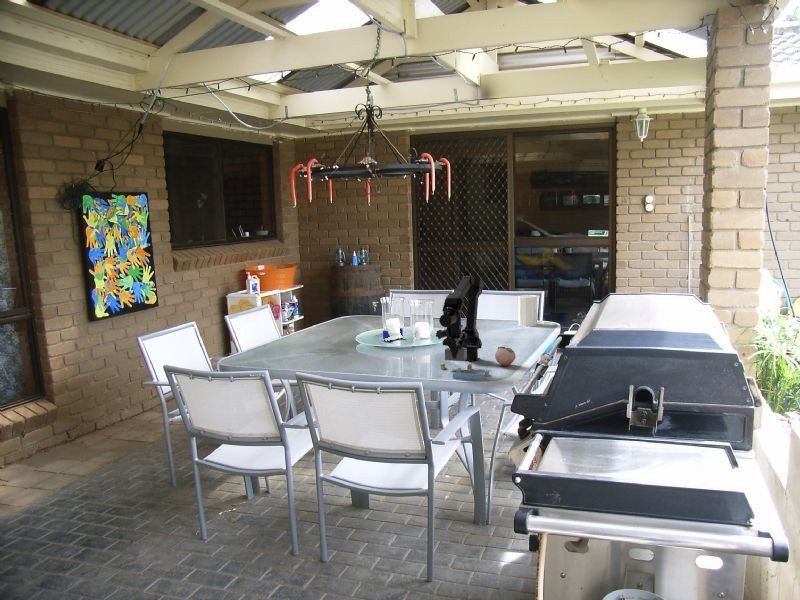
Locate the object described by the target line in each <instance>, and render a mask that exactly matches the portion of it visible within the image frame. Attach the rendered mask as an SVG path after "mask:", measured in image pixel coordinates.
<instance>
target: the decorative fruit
mask: <svg viewBox="0 0 800 600" xmlns="http://www.w3.org/2000/svg"><path fill="white" fill-rule="evenodd" d="M494 357H495V358H494V359H495V360H496V362H497V364H499V365H501V366H503V367H508V366H510V365H512V364H513V363H514V361H515V360H516V352H515V351H514V350H513V349H512V348H510V347H506V346H498V347H497V350H496V351H495V353H494Z"/></svg>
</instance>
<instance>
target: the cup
mask: <svg viewBox="0 0 800 600" xmlns="http://www.w3.org/2000/svg"><path fill="white" fill-rule="evenodd" d="M517 299H518V300H517V301H518V326H520V327H524V328H525V327H526V328H528V327H536V326H538V296H537V295H536V294H535V295H534V294H524V295H523V294H522V295H518V297H517Z"/></svg>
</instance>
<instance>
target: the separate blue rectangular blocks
mask: <svg viewBox="0 0 800 600" xmlns="http://www.w3.org/2000/svg"><path fill="white" fill-rule="evenodd" d="M489 375H490V369H486V370H485V371H484V373H472V372H471V373H469V372H462V368H461V367H459V368H457V369H456V371H455V372H452V379H459V380H460V379H461V380H481V381H484V379H486V377H489Z"/></svg>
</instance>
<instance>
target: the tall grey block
mask: <svg viewBox="0 0 800 600" xmlns="http://www.w3.org/2000/svg"><path fill="white" fill-rule="evenodd" d="M466 359H467V348H459V349H458V352H457V356H456V358H455V359H453V356H452V353H451V350H450V348H449V347H446V348H445V349H444V360H445V361H450V362H451V361H453V362H455V361H456V362H466V361H465V360H466Z"/></svg>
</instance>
